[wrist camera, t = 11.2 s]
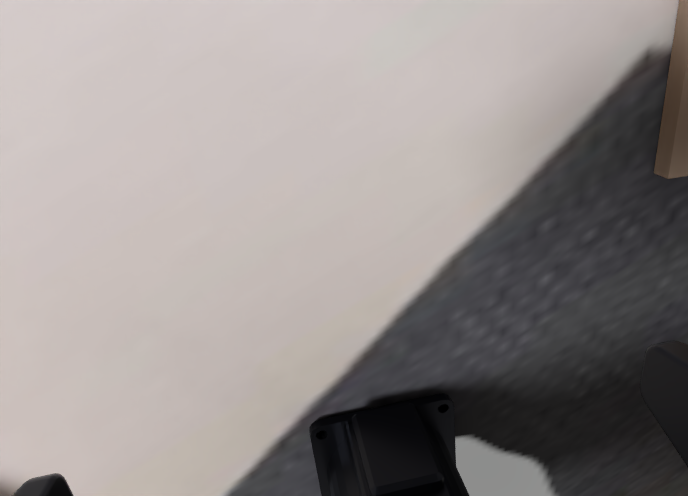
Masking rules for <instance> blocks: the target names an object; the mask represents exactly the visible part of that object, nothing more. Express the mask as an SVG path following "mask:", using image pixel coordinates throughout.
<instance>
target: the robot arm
mask: <svg viewBox="0 0 688 496" xmlns="http://www.w3.org/2000/svg"><path fill="white" fill-rule="evenodd" d="M640 391H641V394H642V397H643V399H644V401H645V403H646V404H647V406H648V407H649V409H650V410H651V412H652V413H653V415H654V416H655V418H656V420H657V421H658V423H659V424H660V426H661V427H662V429H663V430H664V432H665V433H666V435H667V436H668V438H669V439H670V441H671V442H672V444H673V445H674V447H675V448H676V450H677V451H678V453H679V454H680V456H681V457H682V459H683V460H684V462H685V464H686V465H687V467H688V345H686V344H684V343H681V342H677V341H668V342H663V343H659V344H654V345H651V346H649V347H648V349H647V350H646V352H645V357H644V363H643V369H642V375H641V381H640ZM442 404H444V405H443V406H441V407H439V406H440V405H442ZM319 431H324V432H322V433H318V432H319ZM310 437H311V442H312V448H313V453H314V458H315V463H316V468H317V473H318V479H319V484H320V489H321V494H322V496H469V494H468V492H467V489H466V487H465V486H464V483H463V481H462V479H461V476H460V474H459V472H458V470H457V468H456V457H455V423H454V405H453V402H452V400H451V398H450V397H449V396H448V395H446V394H438V395H433V396H428V397H424V398H419V399H414V400H410V401H405V402H400V403H396V404H391V405H386V406H382V407H377V408H372V409H368V410H363V411H359V412H354V413H349V414H345V415H340V416H335V417H331V418H326V419H321V420H318V421H315V422H314V423H313V424H311V426H310ZM12 496H73V494H72V492H71V490H70V488H69V486H68V484H67V482H66V480H65V478H64V477H63V476H62V475H61V474H56V473H55V474H50V475H45V476H41V477H36V478H32V479H30V480H28V481H26V482H25V483H24V484H23V485H22V486H21V487H20V488H19V489H18V490H17V491H16V492H15V493H14V494H13V495H12Z"/></svg>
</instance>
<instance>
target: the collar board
mask: <svg viewBox="0 0 688 496" xmlns="http://www.w3.org/2000/svg"><path fill="white" fill-rule="evenodd" d="M654 173H655V174H657V175H660V176H662V177H664V178H667V179H671V178H677V177H683V176H688V0H679V6H678V12H677V19H676V26H675V33H674V39H673V46H672V53H671V60H670V66H669V73H668V80H667V86H666V93H665V100H664V107H663V113H662V120H661V127H660V134H659V140H658V147H657V154H656V161H655V167H654Z"/></svg>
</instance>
